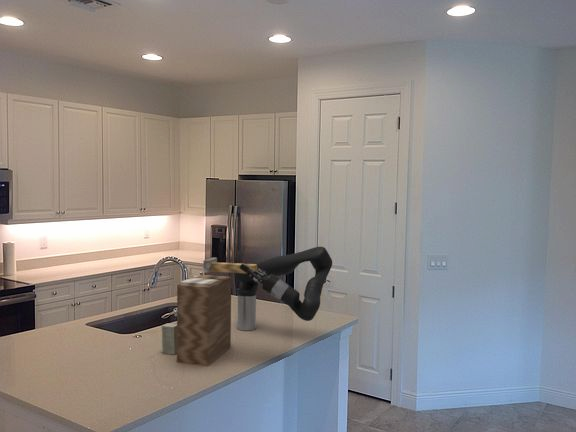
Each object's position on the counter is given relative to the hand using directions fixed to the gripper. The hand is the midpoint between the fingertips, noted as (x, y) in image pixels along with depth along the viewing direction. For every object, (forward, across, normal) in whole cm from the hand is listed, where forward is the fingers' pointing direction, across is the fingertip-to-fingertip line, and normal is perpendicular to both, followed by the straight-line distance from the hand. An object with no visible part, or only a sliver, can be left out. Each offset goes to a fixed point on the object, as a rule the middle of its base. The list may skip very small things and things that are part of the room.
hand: (242, 265), depth 218 cm
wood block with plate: (+3, 0, +5) cm, 6 cm away
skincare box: (+7, +7, +49) cm, 50 cm away
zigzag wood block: (-6, +5, +41) cm, 42 cm away
